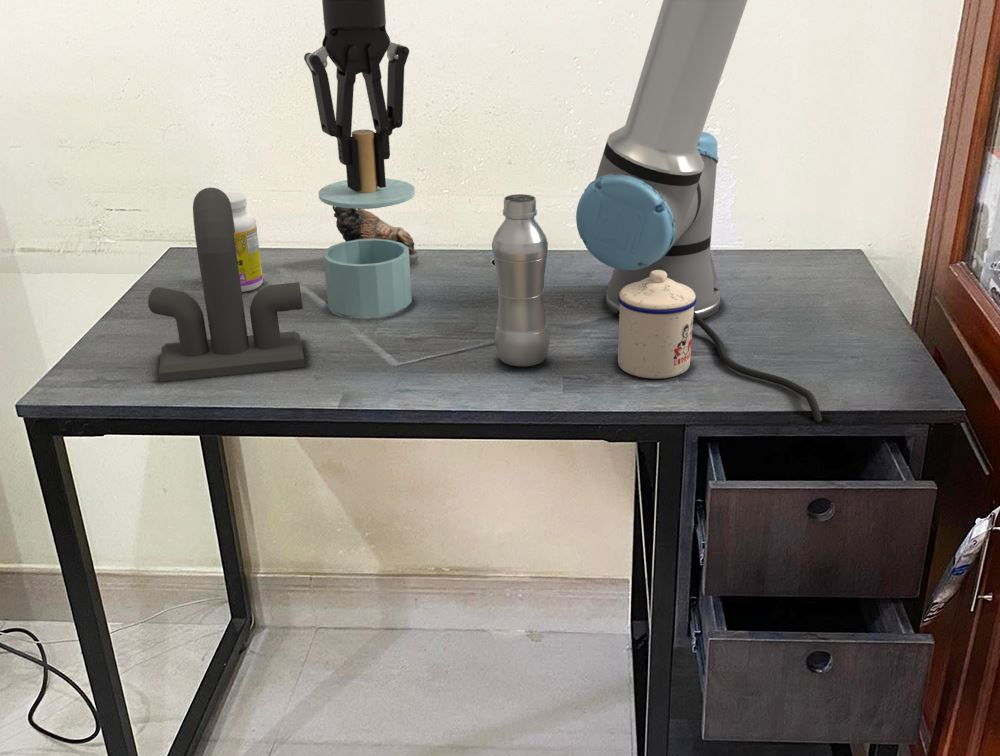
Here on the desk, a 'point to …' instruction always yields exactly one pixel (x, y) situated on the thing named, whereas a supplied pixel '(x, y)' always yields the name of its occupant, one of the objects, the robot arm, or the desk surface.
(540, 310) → the silver metal bottle
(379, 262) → the bowl
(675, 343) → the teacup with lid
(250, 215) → the supplement bottle
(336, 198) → the lid
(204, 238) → the faucet
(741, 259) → the desk surface
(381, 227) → the brown striped lumpy figure
